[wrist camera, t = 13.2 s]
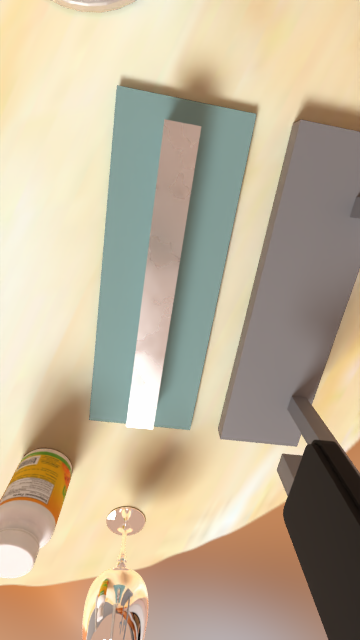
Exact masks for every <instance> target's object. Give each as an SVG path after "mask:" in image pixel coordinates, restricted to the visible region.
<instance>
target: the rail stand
mask: <svg viewBox="0 0 360 640" xmlns="http://www.w3.org/2000/svg"><path fill="white" fill-rule="evenodd" d="M359 269H360V132H358V131H354V130H349V129H344V128H339V127H334V126H329V125H325V124H320V123H315V122H310V121H305V120H299V121H297V122H295V123H293V126H292V130H291V134H290V138H289V142H288V146H287V150H286V154H285V158H284V163H283V167H282V171H281V175H280V179H279V183H278V187H277V191H276V195H275V199H274V203H273V207H272V211H271V215H270V219H269V224H268V228H267V232H266V236H265V240H264V244H263V248H262V252H261V256H260V260H259V264H258V268H257V272H256V276H255V280H254V285H253V289H252V293H251V297H250V301H249V305H248V309H247V313H246V317H245V321H244V325H243V329H242V333H241V337H240V341H239V346H238V350H237V354H236V358H235V362H234V366H233V370H232V374H231V378H230V382H229V386H228V390H227V394H226V398H225V402H224V407H223V411H222V415H221V419H220V423H219V427H218V431H219V435H220V439H226V440H236V441H246V442H256V443H266V444H276V445H287V446H297V445H298V442H299V439H300V436H301V434H302V436H303V437H304V439H305V441H306V442H307V444H311V443H312V441H313V440H326V441H334V442H336V443H337V445H338V446H339V447H340V449H341V450H342V452H343V453H344V455H345V456H346V457H347V459H348V460H349V462H350V463H351V465H352V466H353V468H354V469H355V470H356V472H357V473H358V475H359V476H360V473H359V471H358V470H357V469H356V467H355V466H354V465H353V463H352V461H351V460H350V459H349V457H348V456H347V454H346V453H345V452H344V450H343V449H342V447H341V446H340V445H339V443H338V442H337V440H336V439H335V437H334V436H333V435H332V433H331V432H330V430H329V429H328V428H327V426H326V425H325V423H324V422H323V421H322V419H321V418H320V416H319V415H318V414H317V412H316V411H315V409H314V408H313V406H312V402H313V400H314V397H315V394H316V391H317V388H318V385H319V383H320V380H321V377H322V374H323V371H324V368H325V366H326V363H327V360H328V357H329V354H330V351H331V349H332V346H333V343H334V340H335V337H336V334H337V332H338V329H339V326H340V323H341V320H342V317H343V315H344V312H345V309H346V306H347V303H348V300H349V298H350V295H351V292H352V289H353V286H354V283H355V281H356V278H357V275H358V272H359ZM301 459H302V456H300V455H290V454H282V456H281V459H280V462H279V465H278V468H277V472H278V474H279V476H280V479H281V481H282V484H283V486H284V488H285V491H286V493H287V496H288V495H289V492H290V489H291V487H292V484H293V481H294V478H295V476H296V473H297V470H298V467H299V464H300V462H301Z"/></svg>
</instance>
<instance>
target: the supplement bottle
mask: <svg viewBox="0 0 360 640" xmlns="http://www.w3.org/2000/svg"><path fill="white" fill-rule="evenodd" d="M71 476H72V465H71V463H70V461H69V459H68V458H67V457H66V456H65V455H64V454H62V453H60V452H58V451H56V450H53V449H37V450H33V451H31V452H29V453H28V454H26V455H25V456H24V457H23V459H22V460H21V462H20V464H19V465H18V467H17V469H16V471H15V473H14V475H13V477H12V479H11V481H10V483H9V485H8V487H7V488H6V490H5V492H4V494H3V496H2V498H1V500H0V577H3V578H17V577H21V576H23V575H25V574H27V573H28V572H29V571H30V570H31V569H32V568H33V566H34V563H35V560H36V557H37V555H38V552H39V549H40V548H42V547H43V546H44V545H46V544H47V543H48V541H49V540H50V539H51V537H52V535H53V532H54V530H55V527H56V524H57V520H58V517H59V514H60V511H61V508H62V505H63V502H64V499H65V495H66V492H67V489H68V486H69V483H70V480H71Z"/></svg>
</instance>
